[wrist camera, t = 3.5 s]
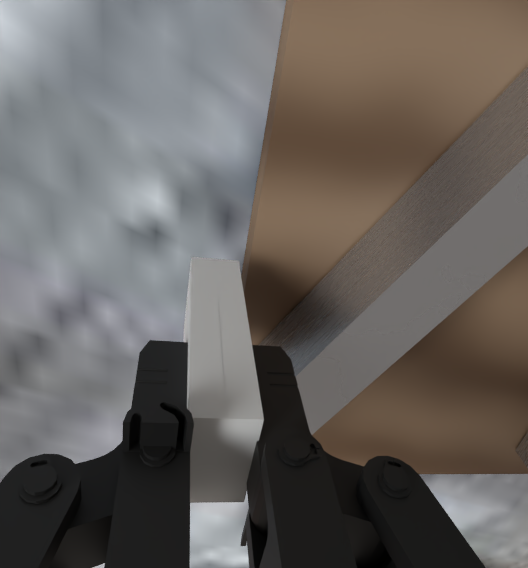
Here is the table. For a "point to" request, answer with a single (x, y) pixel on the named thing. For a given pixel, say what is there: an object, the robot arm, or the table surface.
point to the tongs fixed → (523, 450)
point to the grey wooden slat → (414, 262)
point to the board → (379, 200)
